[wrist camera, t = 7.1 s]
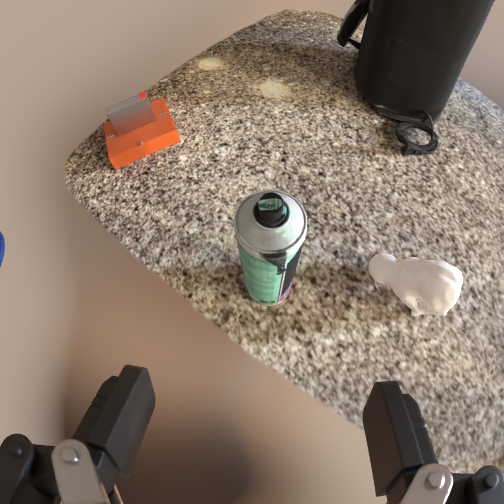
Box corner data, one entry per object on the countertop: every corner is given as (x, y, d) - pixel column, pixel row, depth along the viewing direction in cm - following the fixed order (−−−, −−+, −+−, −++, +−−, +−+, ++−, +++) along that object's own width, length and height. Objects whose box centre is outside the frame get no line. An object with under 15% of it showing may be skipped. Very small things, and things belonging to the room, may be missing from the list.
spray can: (298, 292, 38) (328, 215, 20) (260, 314, 37) (255, 255, 19) (276, 256, 40) (283, 158, 22) (238, 277, 39) (215, 190, 21)
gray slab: (118, 136, 46) (106, 113, 41) (117, 130, 47) (105, 107, 41) (156, 120, 47) (147, 95, 41) (154, 114, 47) (145, 90, 42)
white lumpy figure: (461, 311, 28) (370, 267, 31) (431, 327, 35) (355, 291, 39) (472, 263, 29) (388, 221, 33) (444, 286, 37) (372, 251, 41)
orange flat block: (116, 172, 47) (108, 161, 44) (108, 131, 51) (102, 120, 48) (181, 143, 48) (177, 131, 45) (166, 106, 52) (162, 94, 49)
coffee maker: (406, 57, 59) (436, -52, 27) (480, 152, 47) (557, 30, 15) (326, 55, 57) (340, -76, 26) (396, 161, 46) (473, -19, 14)
